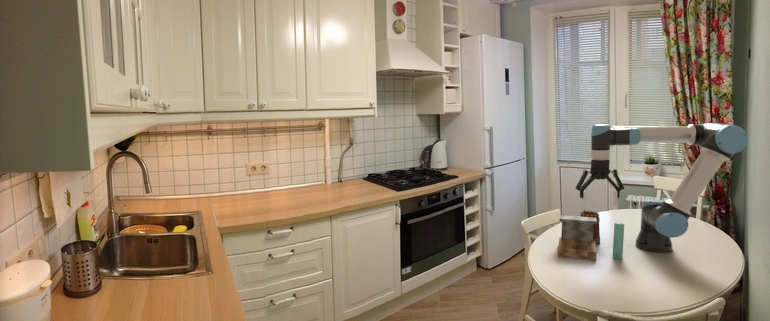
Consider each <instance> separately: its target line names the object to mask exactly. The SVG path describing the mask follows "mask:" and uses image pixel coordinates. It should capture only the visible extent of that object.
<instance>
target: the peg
mask: <svg viewBox="0 0 770 321" xmlns="http://www.w3.org/2000/svg"><path fill="white" fill-rule="evenodd" d="M613 224H614V225H613V240H612V242H613V244H612V259H614V260H618V261H619V260H623V254H624V252H623V251H624V240H625V237H624V236H625V223H624V222H614V223H613Z"/></svg>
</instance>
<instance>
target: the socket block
mask: <svg viewBox="0 0 770 321" xmlns="http://www.w3.org/2000/svg"><path fill="white" fill-rule="evenodd" d="M559 222H561V236H560V237H558V245H557V246H558V247H557V258H565V259H566V258H567V259H575V260H585V261H593V262H596V261H597V255H598V254H597V253H598V252H597V245H596V244H595V240H593V229H594V224H597V220H596V218H591V217H580V216H576V215H563V214H560V215H559Z"/></svg>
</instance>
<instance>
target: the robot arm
mask: <svg viewBox="0 0 770 321" xmlns="http://www.w3.org/2000/svg"><path fill="white" fill-rule="evenodd" d="M590 136H591V137H590V138H591V141H590V142H591V143H590V144H591V147H590V148H591V149H590V150H591V151H590V152H591V153H590V158H591V159H590V169H583V170H582V175H581V176H580V178H579V181H578V182H577V184H576V186H575V189H576V190H577V191H579V198H580V199H581V205H582V206H584V207H585V206H586V193H587V191H585V190H586V189H587V188H588V187H589V186H590V185H591V183H592V182H594V181H595V180H606V181H607V182H608V183H609V184H610V185H611V187H612V188H614V189H613V196H612V197H613V200H612V205H614V206H618V198H620V194H621V190H625V186H624V184H623V183H622V180H621V179H620V177H619V175H618V170H617V169H616V168H612V169H610V156H611V155H610V152H611V150H610V149H611V146H636V145H639V144H640V143H657V144H659V143H667V144H676V143H677V144H687V145H688V146H698V147H699V146H700V151H701V152H700V154H699V155H698V157H697V158H696V159H695V161H694V163H693V164H692V166H691V167H690V169H689V171H688V172H687V173H686V175H685V176H684V178H683V179H682V181H681V182H680V184H679V185H678V186H677V188H676V190H675V191H674V193H672V195H671V197H670V198H669V199H665V200H663V199H644V200H642V203H641V214H640V215H641V217H640V229H639V230H640V231H639V233H638V234H637V237H636V239H635V246H636V247H637V248H638V249H641V250H645V251H649V252H654V253H668V252H671V251H673V243H672V238H673V239H674V238H679V237H681V236H683V235H684V234H685V233H686V232H687V231H688V228H689V222H688V221H689V219H690V217H691V216H692V212H691V209H692V208H693V206H694V205H695V204H696V202H697V200H699V197H700V196H701V194H702V193H703V192H704V190H705V188H707V186H708V184H709V183H710V181H711V180H712V179H713V177H714V176H715V175H716V173H717V171H718V170H719V169H720V167H721V165H723V163H724V162H727V161H728V162H729V161H730V160H731V158H733V156H734V154H737V153H740V152H742V151H743V150H744V149H745V148H746V147H747V144H748V142H749V139H748V138H749V137H748V135H747V132H746V131H745V129H743V127H741V126H738V125H735V124H733V123H721V122H706V123H694V124H693V123H691V124H688V125H686V126H682V125H681V126H678V125H677V126H676V125H675V126H673V125H672V126H668V125H667V126H666V125H665V126H664V125H661V126H660V125H656V126H655V125H649V126H647V125H644V126H643V125H628V126H627V125H610V124H608V123H607V124H603V123H601V124H600V123H598V124H593V125H592V127H591V132H590ZM610 173H611V174H612V176H613V177H614V180H615V181H616V183H617V184H616V183H615V181H613V180H612V178H611V177H610V176H609V175H610ZM589 174H590V176H589V178H588V179H587V180H586V178H587V177H588V175H589Z"/></svg>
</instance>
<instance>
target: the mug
mask: <svg viewBox="0 0 770 321" xmlns="http://www.w3.org/2000/svg"><path fill="white" fill-rule="evenodd" d="M579 217H591V218H596V220H597V224H594V229H593V240H595V244H596V246H597V245H599V244H600V243H601V236H600V235H601V234H600V220H601V219H600V214H599V212H597V211H592V210H591V211H590V210H589V209H583V211H581V212H580V215H579Z"/></svg>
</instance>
